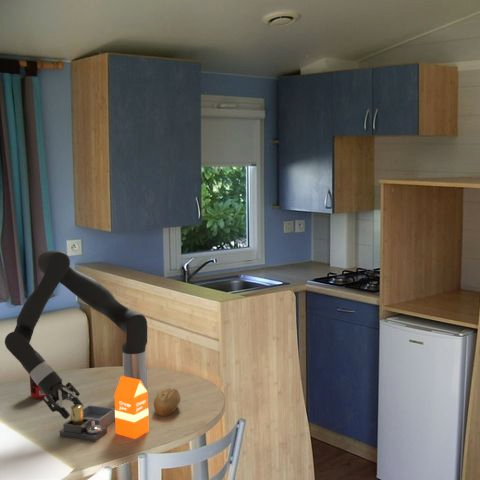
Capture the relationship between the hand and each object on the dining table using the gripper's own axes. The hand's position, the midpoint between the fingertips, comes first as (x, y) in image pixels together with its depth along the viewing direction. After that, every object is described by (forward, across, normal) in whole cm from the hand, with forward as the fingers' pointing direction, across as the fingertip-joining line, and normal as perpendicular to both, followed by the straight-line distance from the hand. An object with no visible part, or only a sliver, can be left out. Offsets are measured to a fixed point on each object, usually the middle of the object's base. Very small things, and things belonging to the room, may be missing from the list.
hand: (75, 412), depth 252 cm
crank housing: (+8, 0, +3) cm, 8 cm away
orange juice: (+18, +8, -7) cm, 21 cm away
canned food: (-18, +27, +30) cm, 44 cm away
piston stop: (+5, 0, +3) cm, 6 cm away
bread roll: (+20, +30, -9) cm, 38 cm away
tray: (+6, +10, +5) cm, 13 cm away
